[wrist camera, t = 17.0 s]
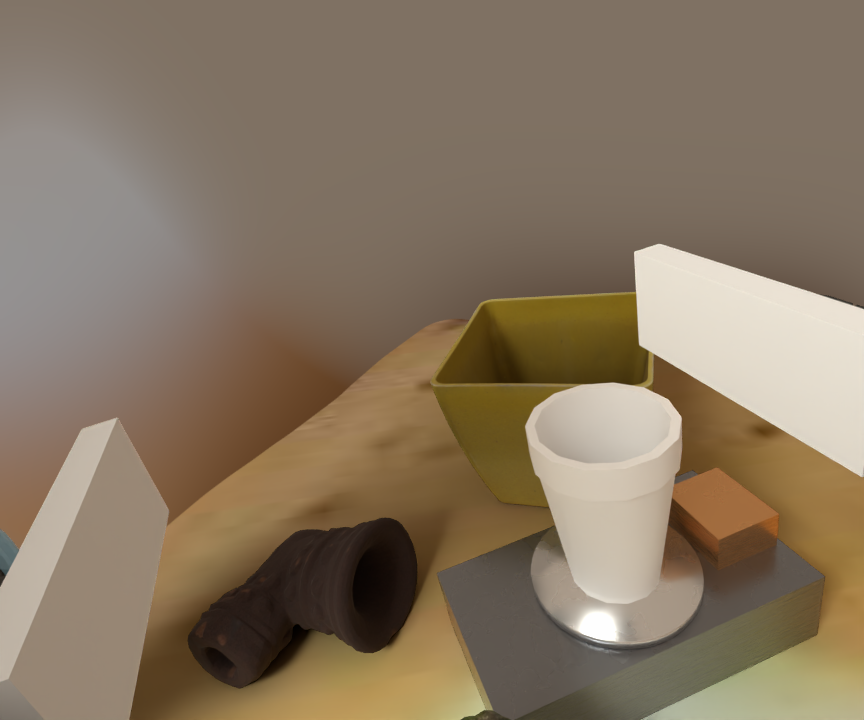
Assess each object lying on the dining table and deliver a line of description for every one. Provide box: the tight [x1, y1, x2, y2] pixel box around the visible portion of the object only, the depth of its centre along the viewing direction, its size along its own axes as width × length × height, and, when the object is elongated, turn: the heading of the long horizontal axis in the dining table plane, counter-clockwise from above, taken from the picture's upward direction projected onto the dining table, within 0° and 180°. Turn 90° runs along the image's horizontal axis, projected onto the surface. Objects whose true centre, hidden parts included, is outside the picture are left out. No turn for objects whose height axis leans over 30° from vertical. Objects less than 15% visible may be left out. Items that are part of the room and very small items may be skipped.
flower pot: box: [431, 292, 654, 507], centre depth 59 cm, size 19×19×17 cm
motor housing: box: [437, 467, 825, 720], centre depth 43 cm, size 24×13×9 cm, turn 107°
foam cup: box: [525, 383, 682, 604], centre depth 39 cm, size 10×9×13 cm
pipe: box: [188, 518, 417, 688], centre depth 50 cm, size 10×15×15 cm
